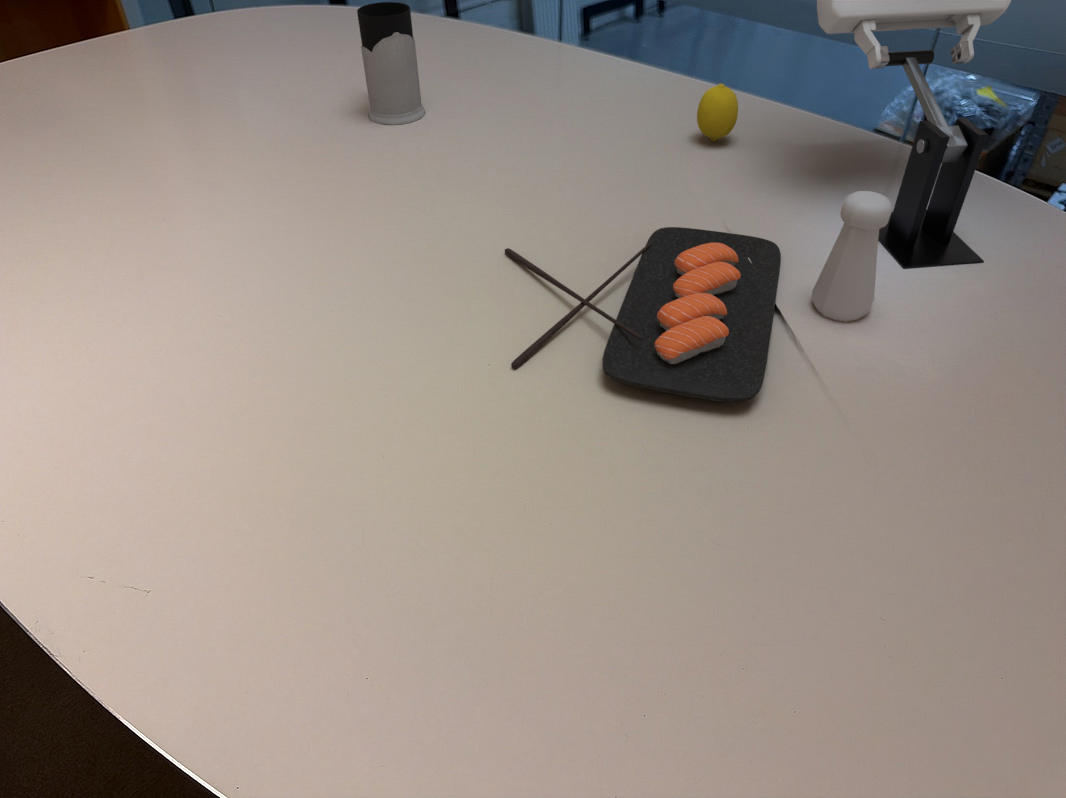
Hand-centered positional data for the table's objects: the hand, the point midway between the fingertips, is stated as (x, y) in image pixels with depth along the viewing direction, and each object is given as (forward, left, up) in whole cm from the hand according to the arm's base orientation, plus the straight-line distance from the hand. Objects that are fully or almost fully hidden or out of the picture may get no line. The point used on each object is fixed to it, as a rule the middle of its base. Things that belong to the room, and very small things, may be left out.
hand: (921, 63), depth 87 cm
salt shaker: (+14, +21, -17) cm, 31 cm away
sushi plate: (+35, +16, -17) cm, 42 cm away
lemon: (+14, -23, -17) cm, 32 cm away
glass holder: (+60, -43, -17) cm, 76 cm away
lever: (0, +3, -4) cm, 5 cm away
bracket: (0, +9, -17) cm, 19 cm away
